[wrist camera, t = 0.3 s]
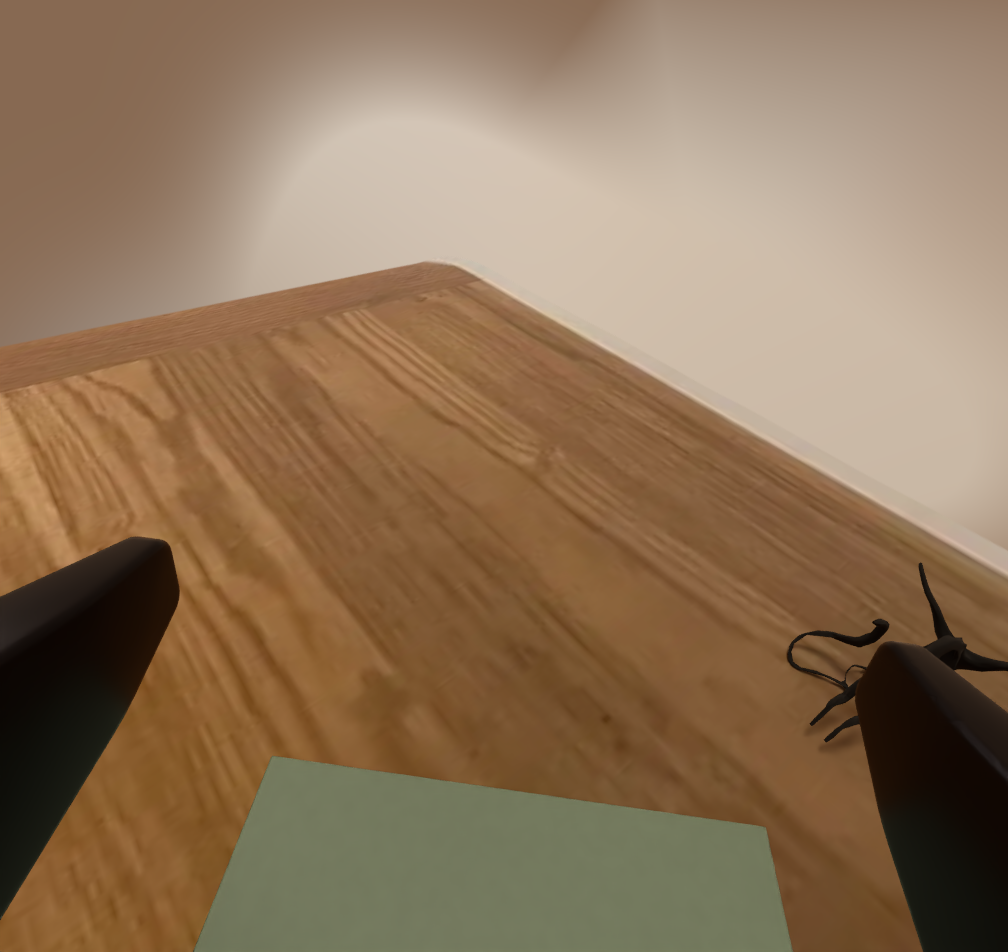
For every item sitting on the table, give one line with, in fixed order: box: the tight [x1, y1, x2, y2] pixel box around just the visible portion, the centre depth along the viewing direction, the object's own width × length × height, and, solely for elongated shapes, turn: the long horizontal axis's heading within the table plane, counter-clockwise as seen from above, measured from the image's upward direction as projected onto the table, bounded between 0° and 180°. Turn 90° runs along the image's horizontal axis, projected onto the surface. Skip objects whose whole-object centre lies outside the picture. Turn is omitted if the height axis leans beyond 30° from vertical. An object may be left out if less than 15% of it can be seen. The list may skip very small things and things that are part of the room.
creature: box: [788, 563, 1008, 742], centre depth 26 cm, size 8×5×8 cm
